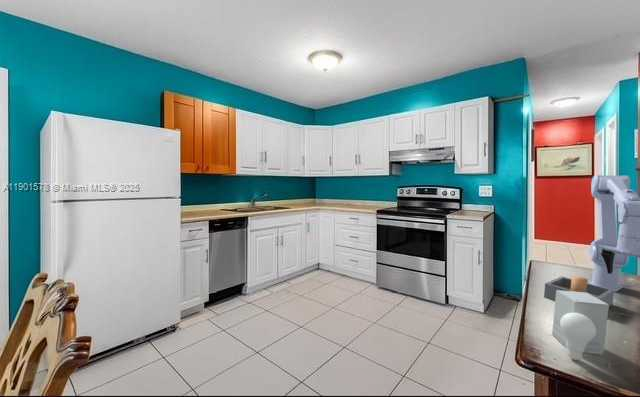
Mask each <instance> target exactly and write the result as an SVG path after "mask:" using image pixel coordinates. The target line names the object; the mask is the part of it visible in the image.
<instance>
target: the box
mask: <svg viewBox="0 0 640 397" xmlns="http://www.w3.org/2000/svg"><path fill="white" fill-rule="evenodd" d="M571 281H572V278H570V277H565V276H559V277H558V278H554V279H553V280H550V281H547V282H546V283H544V291H543V292H544V293H543V298H546V299H547V300H548V299H549V300H552V301H554V302H555V299H556V290H560V291H573V290H571ZM574 292H576V291H574ZM586 293H589V294H590V295H592V296H594V297H596V298H597V299H599V300H601V301H603V302H605V303H607V304H608V305H609V308H610V307H611V306H612V305H613V301H614V295H615V292H614V290H612V289H608V288H604V287H600V286H596V285H593V284H589V282H588V283H587V292H586Z"/></svg>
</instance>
